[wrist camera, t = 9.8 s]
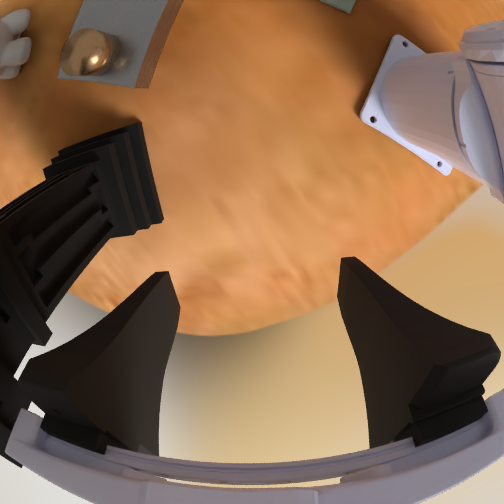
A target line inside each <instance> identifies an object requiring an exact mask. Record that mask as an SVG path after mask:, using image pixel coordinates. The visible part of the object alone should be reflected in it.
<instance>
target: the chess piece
mask: <svg viewBox="0 0 504 504" xmlns="http://www.w3.org/2000/svg"><path fill="white" fill-rule="evenodd" d="M58 153H59V156H57V157H55V158H53V159H51V162H52V165H50V166H48V167H46V168H44V169H43V171H44V175H45V178H46V180H45V181H43V182H42V183H40V184H38V185H37V186H35V187H33V188H32V189H30V190H28V191H27V192H25V193H24V194H22V195H21V196H19V197H18V198H16V199H15V200H13V201H12V202H10V203H9V204H7V205H6V206H4V207H3V208H1V209H0V455H1V456H3V457H4V458H6V459H7V460H9V461H10V462H12V463H14V464H15V465H17V466H19V467H20V468H22V466H23V465H22V464H21V463H19V462H18V461H16V460H15V459H13V458H12V457H10V456H9V455H8V454H6V453H5V449H6V446H7V443H8V440H9V438H10V435H11V432H12V430H13V427H14V425H15V422H16V420H17V417H18V415H19V413H20V410H21V408H24V409H26V410H28V408H29V406H30V403H31V400H30V399H29V398H28V397H27V396H26V395H25V394H24V393H23V391H22V390H21V389H20V387H19V384H18V381H17V380H16V379H15V378H14V377H13V376H14V374H15V373H16V371H17V369H18V367H19V365H20V363H21V362H22V360H23V358H24V356H25V355H26V353H27V351H28V350H29V348H30V346H31V345H32V344H36V345H41V346H45V345H46V344H47V342H48V340H49V339H50V337H51V335H52V332H51V330H50V329H49V327H48V326H47V324H46V321H47V320H48V318H49V317H50V315H51V314H52V312H53V311H54V309H55V307H56V306H57V305H58V304H59V302H60V301H61V299H62V298H63V297H64V295H65V294H66V292H67V291H68V290H69V288H70V287H71V286H72V284H73V283H74V282H75V280H76V279H77V278H78V277H79V275H80V274H81V273H82V271H83V270H84V269H85V268H86V266H87V265H88V264H89V263H90V261H91V260H92V259H93V258H94V256H95V255H96V254H97V253H98V252H99V250H100V249H101V248H102V247H103V246H104V245H105V243H106V242H107V241H108V240H109V239H110V238H115V237H122V236H129V235H134V234H135V233H136V231H137V230H142V229H148V228H149V227H150V226H151V225H152V224H159V223H162V221H163V220H164V217H163V213H162V209H161V206H160V202H159V198H158V194H157V190H156V186H155V182H154V178H153V174H152V169H151V165H150V160H149V156H148V151H147V147H146V142H145V137H144V132H143V127H142V122H140V123H136V124H133V125H129V126H126V127H123V128H120V129H116V130H113V131H110V132H107V133H104V134H101V135H98V136H95V137H93V138H90V139H87V140H85V141H82V142H79V143H77V144H74V145H72V146H69V147H67V148H64V149H62V150H60V151H58Z"/></svg>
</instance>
